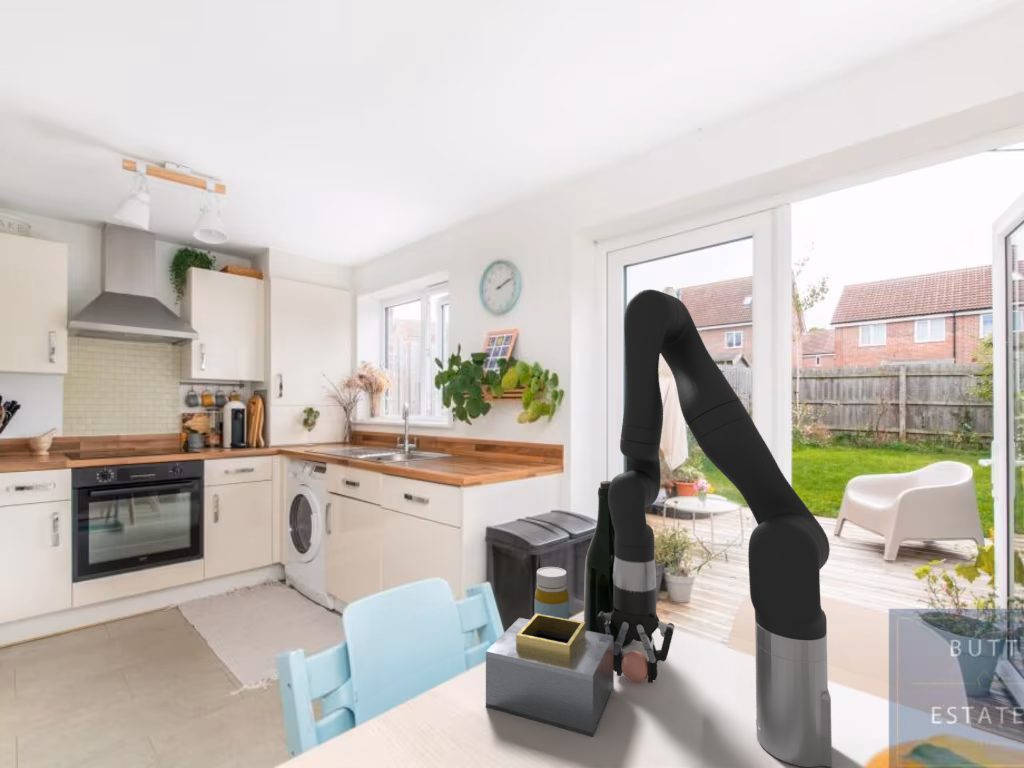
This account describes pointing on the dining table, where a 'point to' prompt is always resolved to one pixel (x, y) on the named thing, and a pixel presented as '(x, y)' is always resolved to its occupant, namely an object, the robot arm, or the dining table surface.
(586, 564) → the dark green wine bottle
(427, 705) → the dining table surface
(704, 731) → the dining table surface
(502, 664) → the grey box with opening
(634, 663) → the ball
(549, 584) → the bottle
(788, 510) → the robot arm
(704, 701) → the dining table surface
